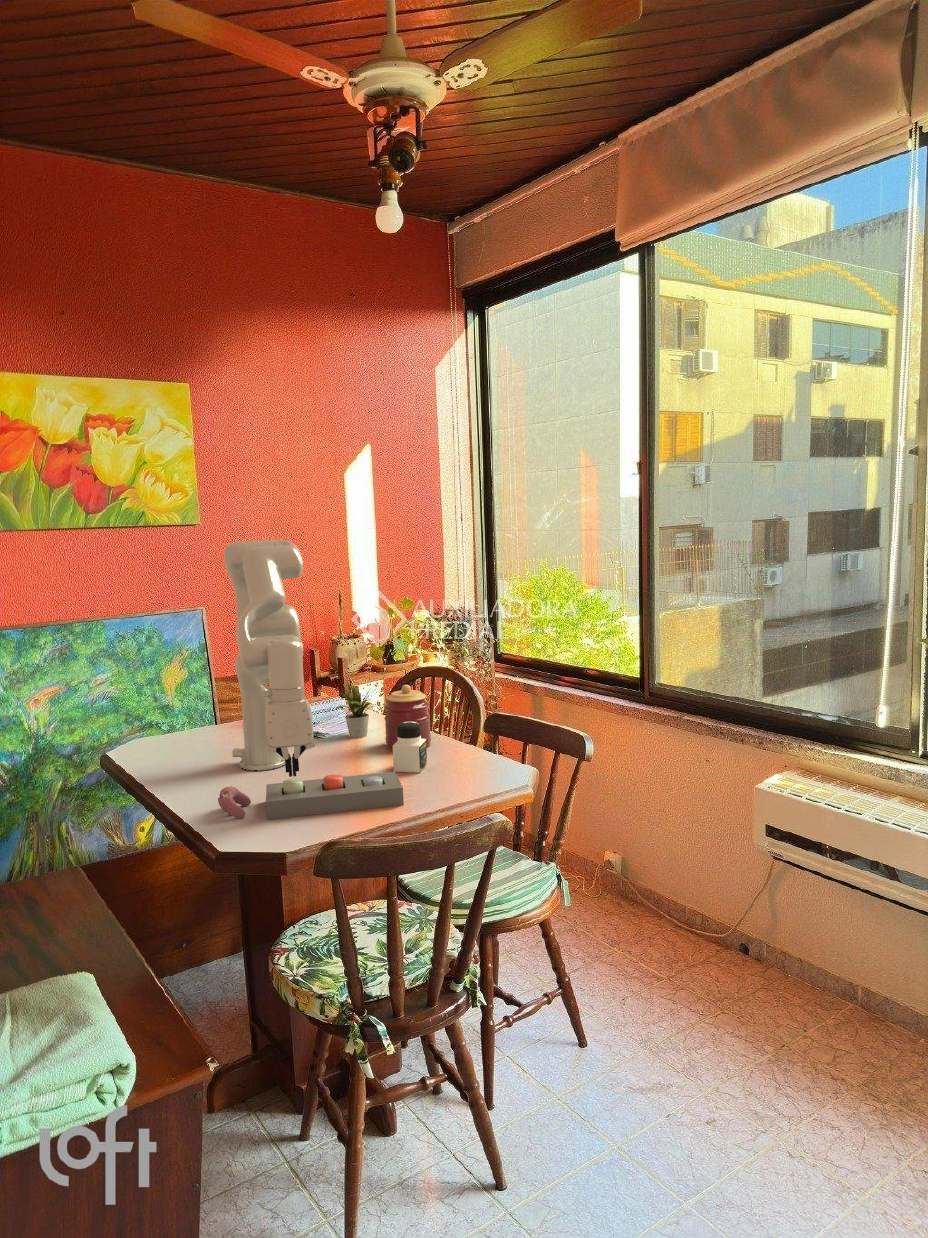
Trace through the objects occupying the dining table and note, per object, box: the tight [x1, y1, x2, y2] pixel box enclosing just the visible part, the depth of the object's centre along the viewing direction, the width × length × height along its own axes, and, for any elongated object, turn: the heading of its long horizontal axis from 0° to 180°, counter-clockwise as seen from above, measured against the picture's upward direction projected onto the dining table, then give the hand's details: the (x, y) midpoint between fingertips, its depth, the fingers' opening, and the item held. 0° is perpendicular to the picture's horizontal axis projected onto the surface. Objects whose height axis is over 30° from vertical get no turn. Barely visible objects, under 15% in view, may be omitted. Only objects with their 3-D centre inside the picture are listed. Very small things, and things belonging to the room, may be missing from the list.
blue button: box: [363, 776, 383, 786], centre depth 196 cm, size 4×4×3 cm
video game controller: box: [217, 785, 252, 819], centre depth 190 cm, size 10×5×7 cm, turn 6°
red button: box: [322, 774, 344, 790], centre depth 193 cm, size 4×4×3 cm
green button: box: [282, 778, 304, 794], centre depth 192 cm, size 4×4×3 cm
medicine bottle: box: [392, 722, 428, 774], centre depth 218 cm, size 7×7×12 cm
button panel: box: [265, 771, 405, 820], centre depth 194 cm, size 30×13×4 cm, turn 102°
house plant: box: [333, 684, 377, 739], centre depth 255 cm, size 14×14×16 cm
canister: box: [383, 684, 432, 751], centre depth 241 cm, size 13×13×18 cm
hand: (292, 774), depth 191 cm, fingers closed
